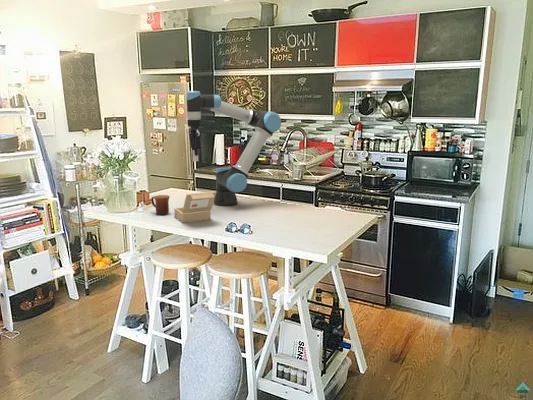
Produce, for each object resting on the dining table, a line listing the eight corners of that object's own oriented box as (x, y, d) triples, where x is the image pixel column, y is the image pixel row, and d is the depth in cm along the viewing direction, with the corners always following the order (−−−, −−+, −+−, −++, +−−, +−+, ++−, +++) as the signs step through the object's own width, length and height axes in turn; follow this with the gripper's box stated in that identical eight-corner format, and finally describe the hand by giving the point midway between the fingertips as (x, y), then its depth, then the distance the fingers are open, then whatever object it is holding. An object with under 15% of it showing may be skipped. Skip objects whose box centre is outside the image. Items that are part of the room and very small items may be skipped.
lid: (215, 191, 237) (218, 196, 235) (210, 209, 246) (212, 214, 244) (186, 194, 229) (188, 199, 227) (182, 212, 238) (184, 217, 236)
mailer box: (201, 213, 259) (201, 205, 258) (210, 219, 247) (210, 210, 246) (174, 216, 252) (174, 208, 251) (182, 223, 240) (182, 214, 239)
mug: (173, 213, 260) (172, 195, 258) (163, 216, 252) (162, 198, 250) (157, 210, 265) (156, 193, 263) (147, 213, 258) (146, 196, 255)
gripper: (183, 118, 255) (185, 160, 260) (192, 120, 244) (193, 163, 249) (196, 118, 258) (197, 159, 264) (204, 119, 248) (206, 162, 253)
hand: (195, 161), depth 257 cm, fingers closed
